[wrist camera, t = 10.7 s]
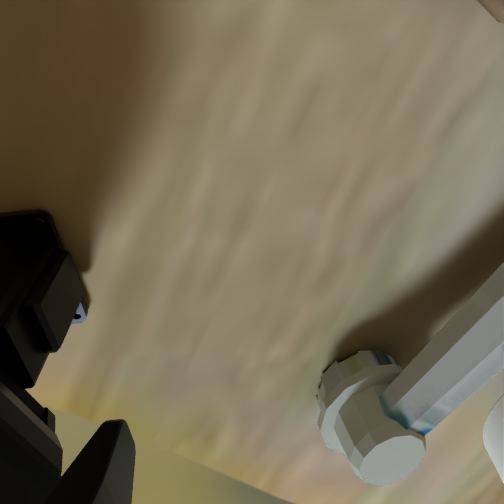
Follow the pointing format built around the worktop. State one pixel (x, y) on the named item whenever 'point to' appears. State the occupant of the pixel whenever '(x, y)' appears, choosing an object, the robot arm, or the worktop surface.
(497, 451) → the canister
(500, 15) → the block with rectangular hole
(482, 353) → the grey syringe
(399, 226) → the worktop surface
